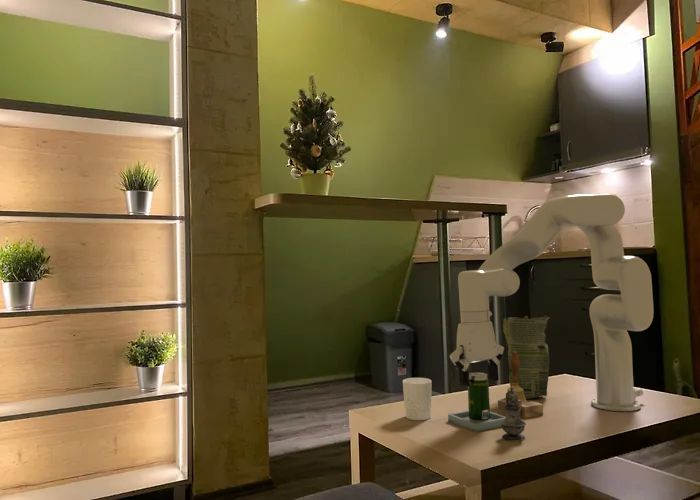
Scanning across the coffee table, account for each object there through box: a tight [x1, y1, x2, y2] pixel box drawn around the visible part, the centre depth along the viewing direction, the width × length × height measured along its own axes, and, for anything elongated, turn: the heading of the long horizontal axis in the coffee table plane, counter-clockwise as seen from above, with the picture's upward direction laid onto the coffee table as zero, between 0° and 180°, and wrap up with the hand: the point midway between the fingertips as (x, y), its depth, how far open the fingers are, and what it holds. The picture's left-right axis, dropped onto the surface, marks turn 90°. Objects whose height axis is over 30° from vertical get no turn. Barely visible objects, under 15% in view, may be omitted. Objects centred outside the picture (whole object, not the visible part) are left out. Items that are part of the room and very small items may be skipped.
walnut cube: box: [497, 397, 522, 418], centre depth 146 cm, size 4×4×4 cm
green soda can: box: [467, 372, 491, 423], centre depth 142 cm, size 5×5×12 cm
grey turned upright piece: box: [500, 386, 527, 442], centre depth 129 cm, size 6×6×12 cm
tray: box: [447, 410, 506, 433], centre depth 141 cm, size 11×11×2 cm
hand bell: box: [506, 352, 528, 403], centre depth 156 cm, size 8×8×16 cm
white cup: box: [402, 377, 432, 421], centre depth 149 cm, size 8×8×10 cm
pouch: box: [502, 314, 550, 400], centre depth 169 cm, size 11×12×25 cm
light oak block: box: [522, 400, 544, 418], centre depth 148 cm, size 6×4×3 cm, turn 111°
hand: (479, 382), depth 142 cm, fingers open, 9 cm apart
